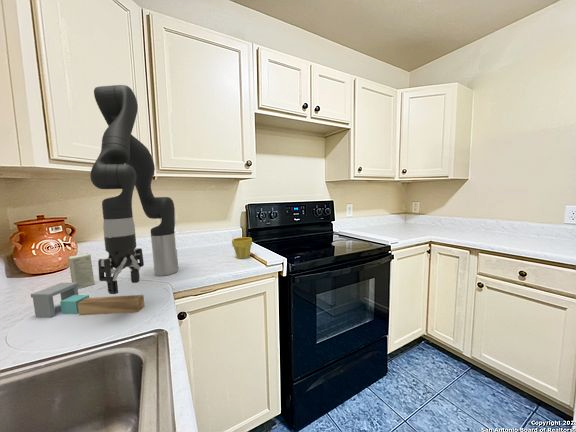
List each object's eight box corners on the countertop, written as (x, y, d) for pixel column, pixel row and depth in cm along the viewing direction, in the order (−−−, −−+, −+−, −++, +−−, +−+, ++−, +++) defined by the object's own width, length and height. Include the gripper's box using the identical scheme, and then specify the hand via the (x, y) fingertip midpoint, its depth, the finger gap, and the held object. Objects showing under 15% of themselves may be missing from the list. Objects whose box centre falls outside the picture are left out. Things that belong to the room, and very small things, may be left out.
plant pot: (235, 254, 135) (234, 237, 134) (254, 254, 135) (253, 236, 134) (230, 260, 125) (229, 241, 124) (250, 259, 124) (249, 240, 123)
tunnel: (64, 303, 81) (61, 282, 80) (80, 303, 80) (78, 282, 79) (34, 317, 72) (30, 294, 71) (52, 317, 71) (49, 294, 71)
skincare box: (92, 282, 100) (88, 252, 98) (95, 284, 97) (91, 254, 96) (71, 287, 95) (67, 256, 94) (74, 289, 92) (70, 258, 91)
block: (76, 307, 78) (74, 294, 78) (90, 307, 78) (89, 294, 77) (61, 314, 74) (60, 301, 73) (77, 314, 73) (75, 301, 73)
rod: (88, 310, 76) (86, 297, 75) (144, 307, 77) (143, 294, 76) (79, 316, 72) (77, 303, 72) (138, 312, 73) (137, 299, 73)
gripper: (126, 230, 79) (131, 279, 80) (85, 238, 65) (92, 297, 66) (148, 229, 78) (152, 279, 80) (112, 238, 64) (118, 298, 65)
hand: (125, 287), depth 73 cm, fingers open, 8 cm apart
